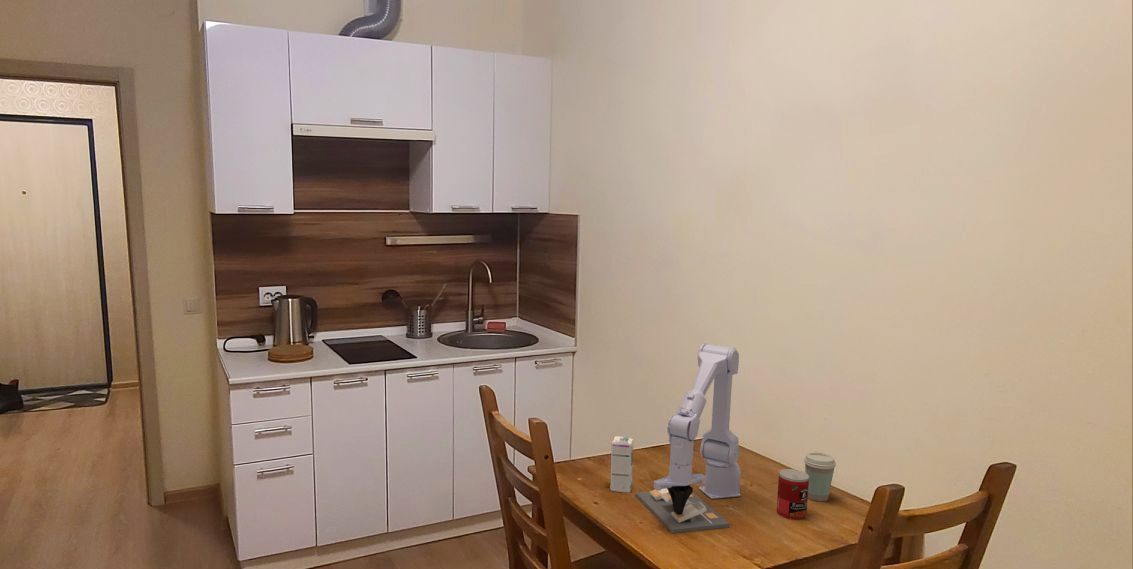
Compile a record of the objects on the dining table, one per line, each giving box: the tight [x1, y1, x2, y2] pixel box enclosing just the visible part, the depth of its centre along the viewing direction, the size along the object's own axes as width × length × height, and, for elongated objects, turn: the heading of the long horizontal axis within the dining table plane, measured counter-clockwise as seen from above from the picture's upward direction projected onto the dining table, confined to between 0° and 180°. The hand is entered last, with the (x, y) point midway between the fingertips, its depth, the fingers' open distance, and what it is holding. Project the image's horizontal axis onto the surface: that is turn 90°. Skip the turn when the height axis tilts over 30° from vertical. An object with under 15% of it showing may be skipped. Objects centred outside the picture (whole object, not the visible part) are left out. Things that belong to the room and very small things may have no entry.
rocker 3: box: [672, 501, 706, 523], centre depth 187 cm, size 8×4×1 cm, turn 107°
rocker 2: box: [661, 493, 693, 507], centre depth 193 cm, size 8×4×1 cm, turn 107°
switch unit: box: [634, 490, 731, 534], centre depth 194 cm, size 16×24×2 cm, turn 17°
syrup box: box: [609, 436, 634, 494], centre depth 207 cm, size 6×6×14 cm
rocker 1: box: [649, 488, 670, 501], centre depth 200 cm, size 8×4×1 cm, turn 107°
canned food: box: [776, 468, 809, 520], centre depth 194 cm, size 8×8×11 cm
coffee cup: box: [803, 452, 837, 502], centre depth 206 cm, size 8×9×12 cm
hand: (678, 513), depth 186 cm, fingers closed
